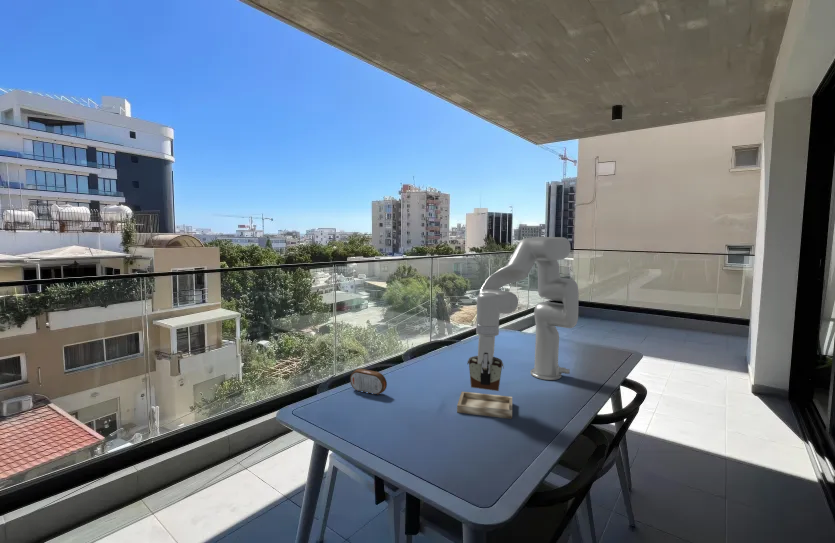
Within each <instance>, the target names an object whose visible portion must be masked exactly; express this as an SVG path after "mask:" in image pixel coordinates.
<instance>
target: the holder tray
mask: <svg viewBox="0 0 835 543" xmlns="http://www.w3.org/2000/svg"><path fill="white" fill-rule="evenodd" d="M456 406H457V407H456V413H459V414H468V415H475V416H476V415H477V416H485V417H493V418H500V419H509V420H510V419H511V420H512V419H513V396H508V395H499V394H490V393H489V394H488V393H481V392H480V393H479V392H469V391H461V393H460V395H459V399H458V401H457V405H456Z"/></svg>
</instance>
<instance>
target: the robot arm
mask: <svg viewBox="0 0 835 543" xmlns="http://www.w3.org/2000/svg"><path fill="white" fill-rule="evenodd" d="M514 249H515V250H514V251H513V253H512V255H511V256H510V259H509V260H508V261H507V263H506V265H505V266H503V267H501V268H500V269H498V270H496V271H495V272H494V273H492V274H490V275H489V276H488V277H487V278H486V279H485V282H483V285H482V286H481V288H480V290H479V291H478V295H477V297H476V327H475V328H476V329H475V330H476V332H475V333H476V335H478V346H477V356H478V362H477V363H478V364H481V362H482V369H481V384H482V385H490V375H491V373H490V365H492V362H493V357H495V356H494V354H495V346H496V345H495V342H496V337H497V336H499V334H500V333H499V332H500V315H501V314H510V313H511V314H512V313H513V312H514V311H516V310H517V308H518V306H519V299H518V296H517V295H516V294H515V293H513V292H512V291H505V290H500V288H503V287H505V286H507V285H509V284H513V283H517V282H520V281H523V280H525V279H526V278H528V277H529V274H530V273H531V269H532V268H533V266H534V264H536V266H537V293H538V296H539V297H540V298H541V299H544V300H547V301H541V302H538V303H537V304H536V305H535V307H534V310H533V311H534V312H533V314H534V321H535V322H534V323H535V348H534V367H533V368H532V369H530V375H531V376H532V377H534V378H537V379H540V380H545V381H555V380H559V379H561V378H562V374H567V375H570V373H571V372H570V368H566V367H560V366H559V350H560V349H559V348H560V333H559V331H558V329H557V327H559V328H563V329H573V328H575V327H576V325H577V323H578V320H579V300H580V299H579V294H580V293H579V292H580V291H579V286H578V283H577V281H575V280H574V279H572V278H565V277H561V276H560V263H559V261H560V260H561V261H562V260H565V259H566V258H567V257H568V256H569V255H570V252H571V243H570V240H568V238H566V237H563V236H561V237H559V236H557V237H556V236H535V237H534V236H533V237H525V238H523V239H521V240H520V241H519V242H518V243H517V246H516V248H514ZM548 300H549V301H548ZM551 301H556V302H551ZM558 302H562V303H558ZM483 362H484V363H483ZM487 362H489V364H487ZM487 366H488V367H487Z"/></svg>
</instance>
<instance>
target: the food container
mask: <svg viewBox="0 0 835 543" xmlns="http://www.w3.org/2000/svg"><path fill="white" fill-rule="evenodd" d="M477 362H478V355H474V356H470V357H469V358H468V360H467V362H466V363H467V365H468V368H469V377H470V378H469V381H470V388H471V389H472V388H473V389H479V390H486V391H487V390H488V391H494V392H500V391H499V390H500V385H501V377H502V369H505V368H504V367H505V365H504V363H503V360H502V359H501V358H499V357H495V356H493V362H492V365H490V373H491V375H490V385H482V384H481V369H482V362H481V364H478V363H477ZM483 363H484V362H483ZM487 364H489V362H487ZM487 367H488V366H487Z"/></svg>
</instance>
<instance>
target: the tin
mask: <svg viewBox="0 0 835 543" xmlns="http://www.w3.org/2000/svg"><path fill="white" fill-rule="evenodd" d="M349 382H350V385H351V387H352V388H353V389H354V390H355V391H357V390H358V391H357V392H359V391H363V392H362V393H364V392H368V393H367V394H369V393H373V394H377V395H376V396H378V395H381V394H382V393H384V392H385V391H386V389H387V386H388V383H387V380H386V377H385V375H383V373H381V372H379V371H376V370H375V371H374V370H370V369H365V368H357V369H355V370H354V371H353V372H352V373H351V374H350V376H349ZM373 394H372V395H373Z"/></svg>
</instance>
